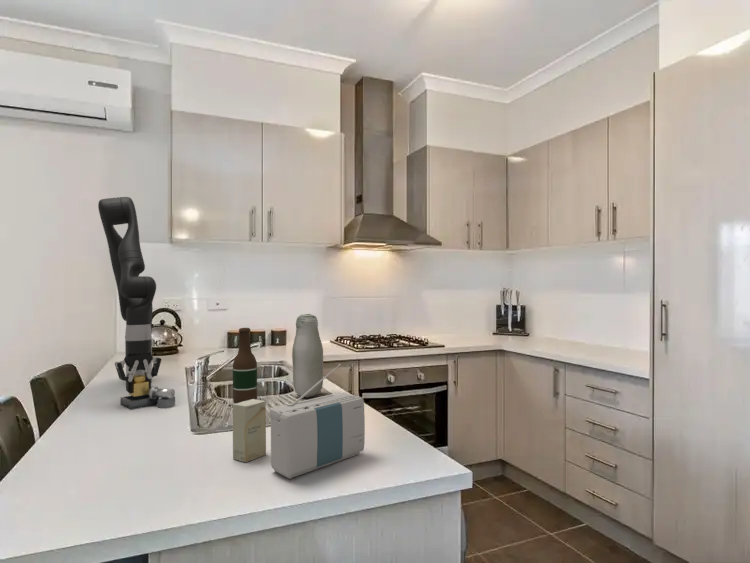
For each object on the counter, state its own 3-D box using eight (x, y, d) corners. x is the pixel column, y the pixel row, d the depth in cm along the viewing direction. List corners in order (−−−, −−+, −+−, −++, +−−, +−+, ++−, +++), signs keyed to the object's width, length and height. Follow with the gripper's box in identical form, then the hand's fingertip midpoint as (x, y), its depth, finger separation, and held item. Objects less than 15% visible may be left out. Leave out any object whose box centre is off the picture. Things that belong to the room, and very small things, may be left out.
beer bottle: (227, 403, 155) (227, 328, 155) (242, 397, 162) (242, 326, 162) (247, 405, 152) (247, 329, 152) (262, 399, 159) (261, 327, 159)
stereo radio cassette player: (289, 483, 93) (288, 380, 93) (265, 472, 99) (265, 374, 99) (366, 455, 108) (366, 366, 108) (342, 446, 114) (341, 362, 114)
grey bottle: (310, 391, 170) (309, 312, 170) (328, 396, 163) (328, 313, 163) (287, 396, 163) (286, 314, 163) (305, 401, 156) (304, 315, 156)
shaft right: (148, 407, 151) (148, 388, 151) (157, 403, 155) (157, 385, 155) (167, 408, 149) (167, 389, 149) (176, 404, 154) (176, 386, 154)
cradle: (120, 404, 154) (120, 397, 154) (148, 399, 160) (148, 392, 160) (130, 409, 148) (130, 401, 148) (158, 404, 155) (158, 396, 155)
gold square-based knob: (134, 396, 151) (133, 377, 151) (128, 394, 154) (128, 375, 154) (148, 394, 154) (148, 375, 154) (143, 392, 157) (143, 373, 157)
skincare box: (246, 463, 103) (245, 406, 103) (231, 459, 106) (231, 404, 106) (267, 454, 109) (266, 400, 109) (253, 450, 111) (252, 398, 111)
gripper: (118, 341, 147) (118, 397, 147) (165, 337, 157) (166, 389, 157) (110, 339, 152) (110, 393, 152) (156, 335, 162) (156, 386, 162)
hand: (138, 391), depth 154 cm, fingers closed on gold square-based knob, 4 cm apart
